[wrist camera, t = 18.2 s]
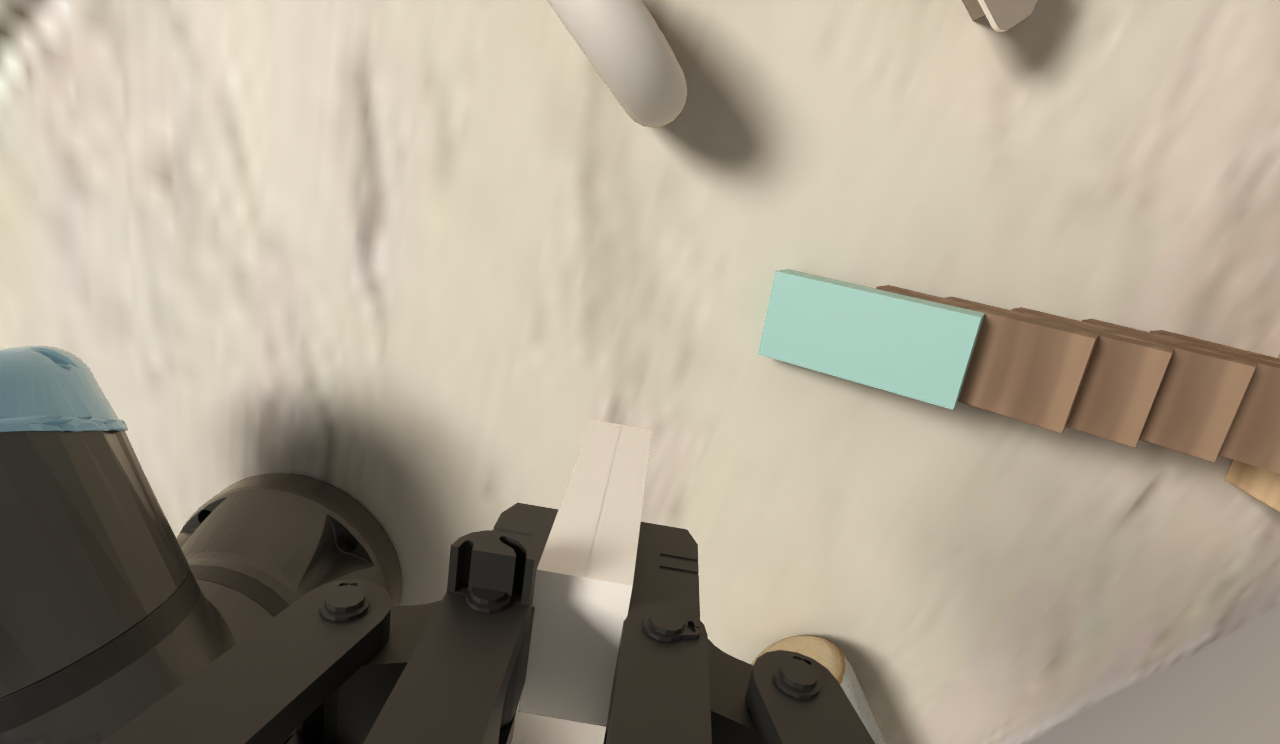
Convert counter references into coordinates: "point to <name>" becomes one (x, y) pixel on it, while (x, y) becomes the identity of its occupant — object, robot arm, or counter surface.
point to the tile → (871, 336)
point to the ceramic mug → (840, 670)
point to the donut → (628, 56)
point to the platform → (1000, 11)
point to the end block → (1256, 482)
